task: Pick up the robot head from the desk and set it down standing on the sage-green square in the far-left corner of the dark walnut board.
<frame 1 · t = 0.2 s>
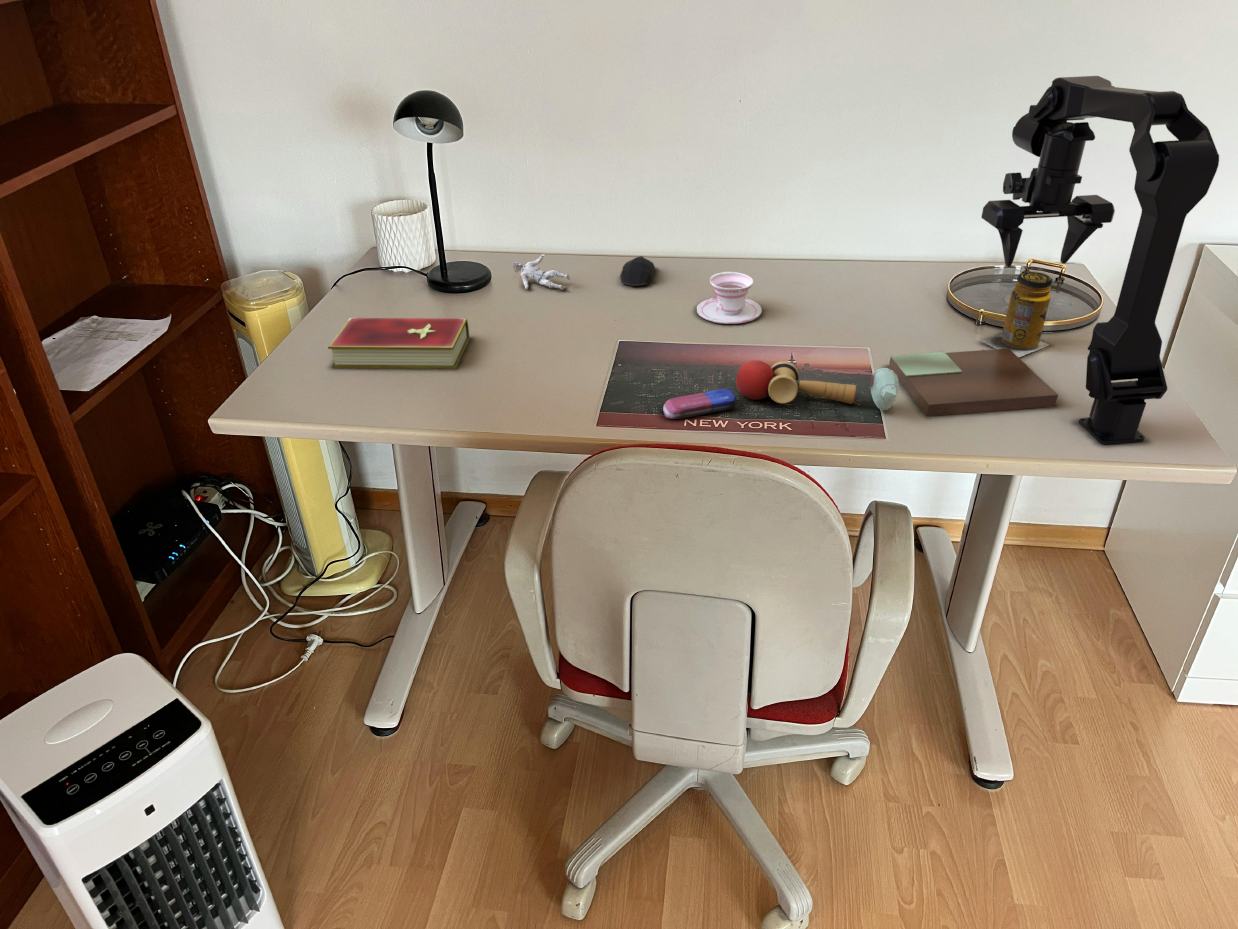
hand: (1035, 264, 146), 15 cm above the table, tool pointing down, fingers open, 9 cm apart
teacup: (728, 312, 169), on the table
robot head: (880, 410, 138), on the table
gaming mouse: (639, 275, 185), on the table
condiment: (1015, 345, 155), on the table
walnut board: (968, 386, 143), on the table
eraser: (699, 410, 139), on the table
kendama: (793, 400, 141), on the table
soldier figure: (541, 285, 182), on the table
hardcover book: (403, 353, 158), on the table
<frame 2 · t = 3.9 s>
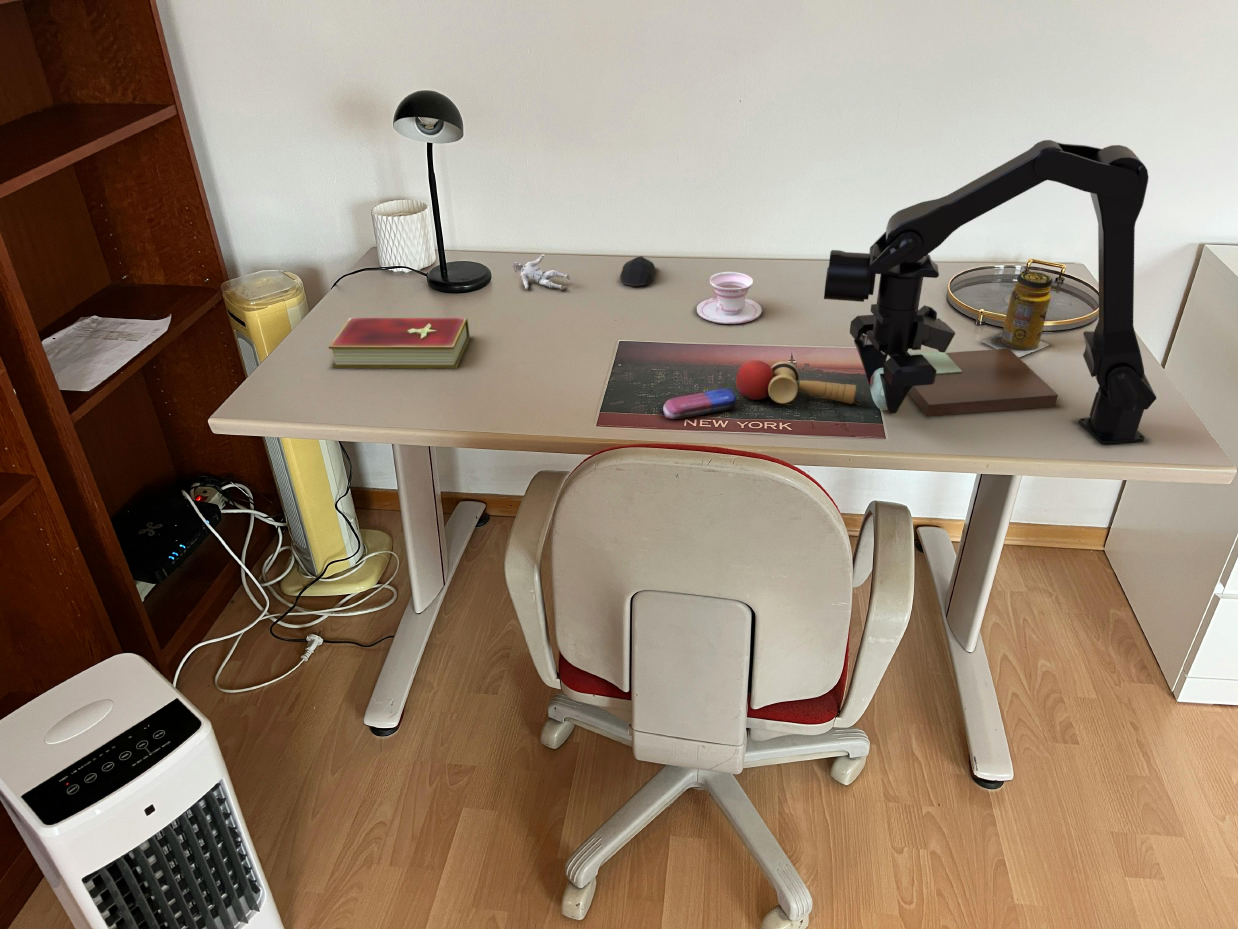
hand: (883, 400, 136), 2 cm above the table, tool pointing down, fingers closed on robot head, 7 cm apart
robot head: (880, 410, 138), on the table, touching gripper
everything else where it was.
when the fingers open (4 cm above the table, at t = 9.0 s): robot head stays where it is, resting on walnut board.
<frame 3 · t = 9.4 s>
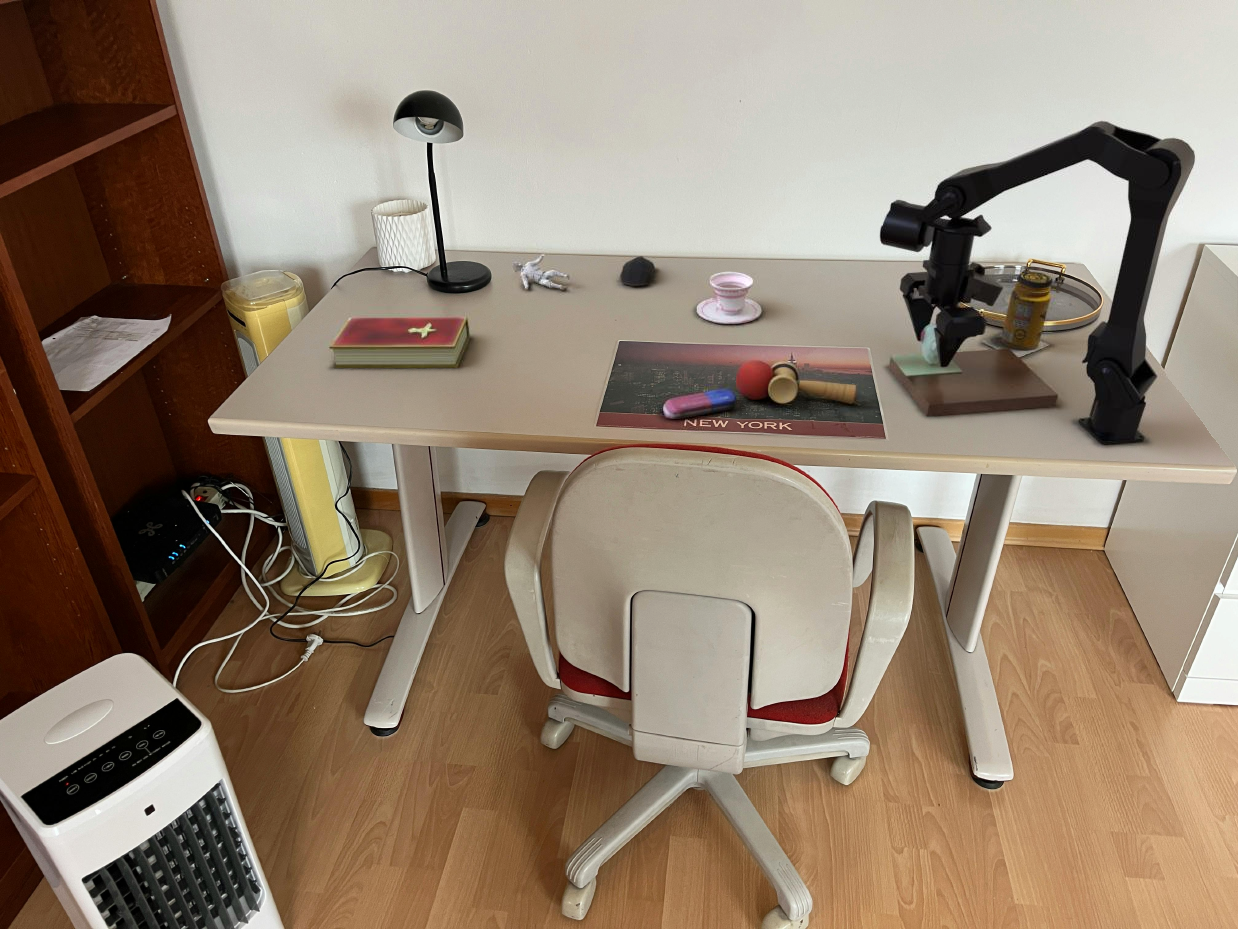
hand: (931, 353, 143), 4 cm above the table, tool pointing down, fingers open, 9 cm apart
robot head: (929, 364, 145), point 2 cm above the table, touching walnut board
everything else where it was.
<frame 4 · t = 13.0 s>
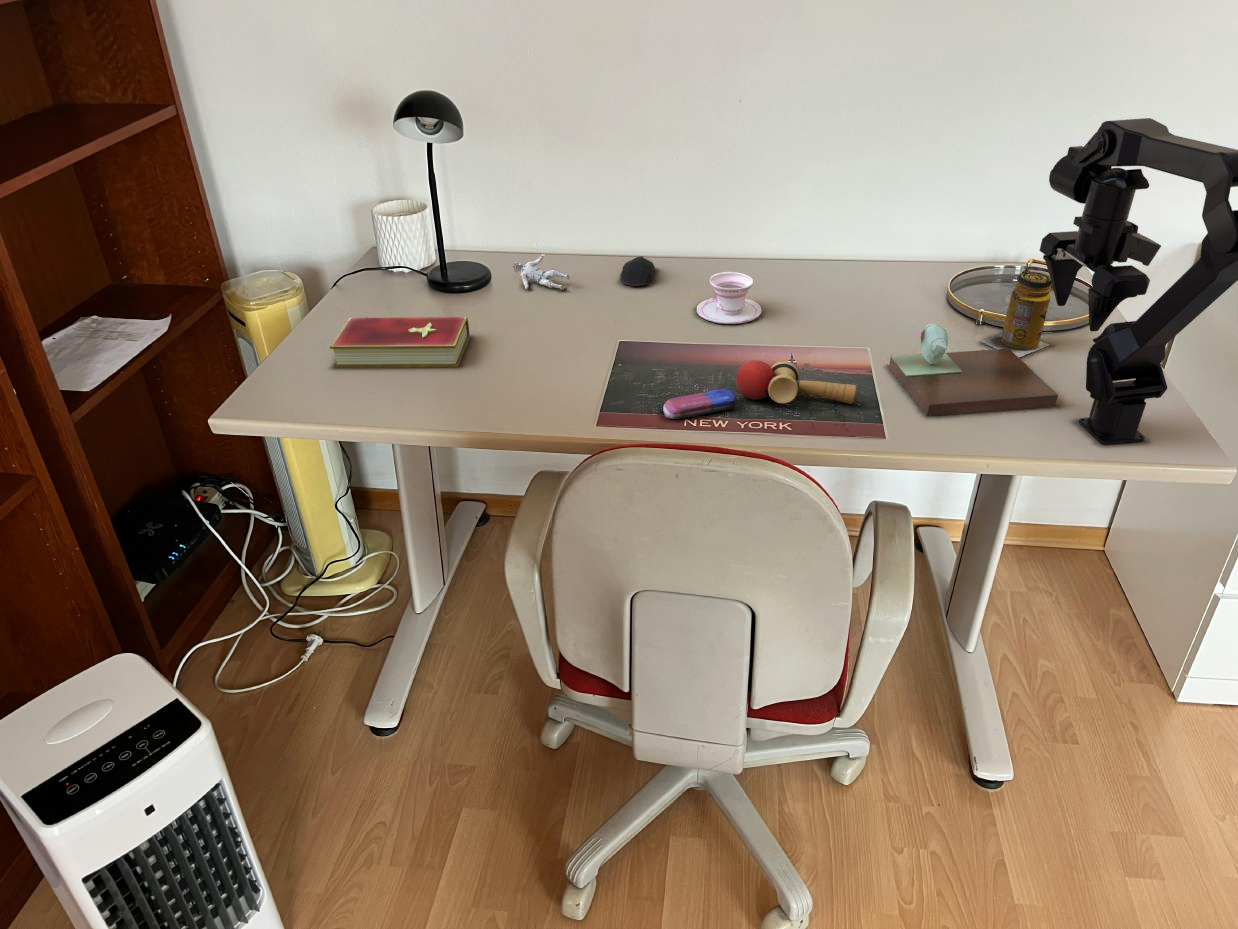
hand: (1076, 317, 135), 12 cm above the table, tool pointing down, fingers open, 9 cm apart
nothing on the table moved.
at the end: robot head inside the target area on the walnut board (0.8 cm from its centre), point 2.0 cm above the walnut board's base; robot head tilted 0°; the gripper is holding nothing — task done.
